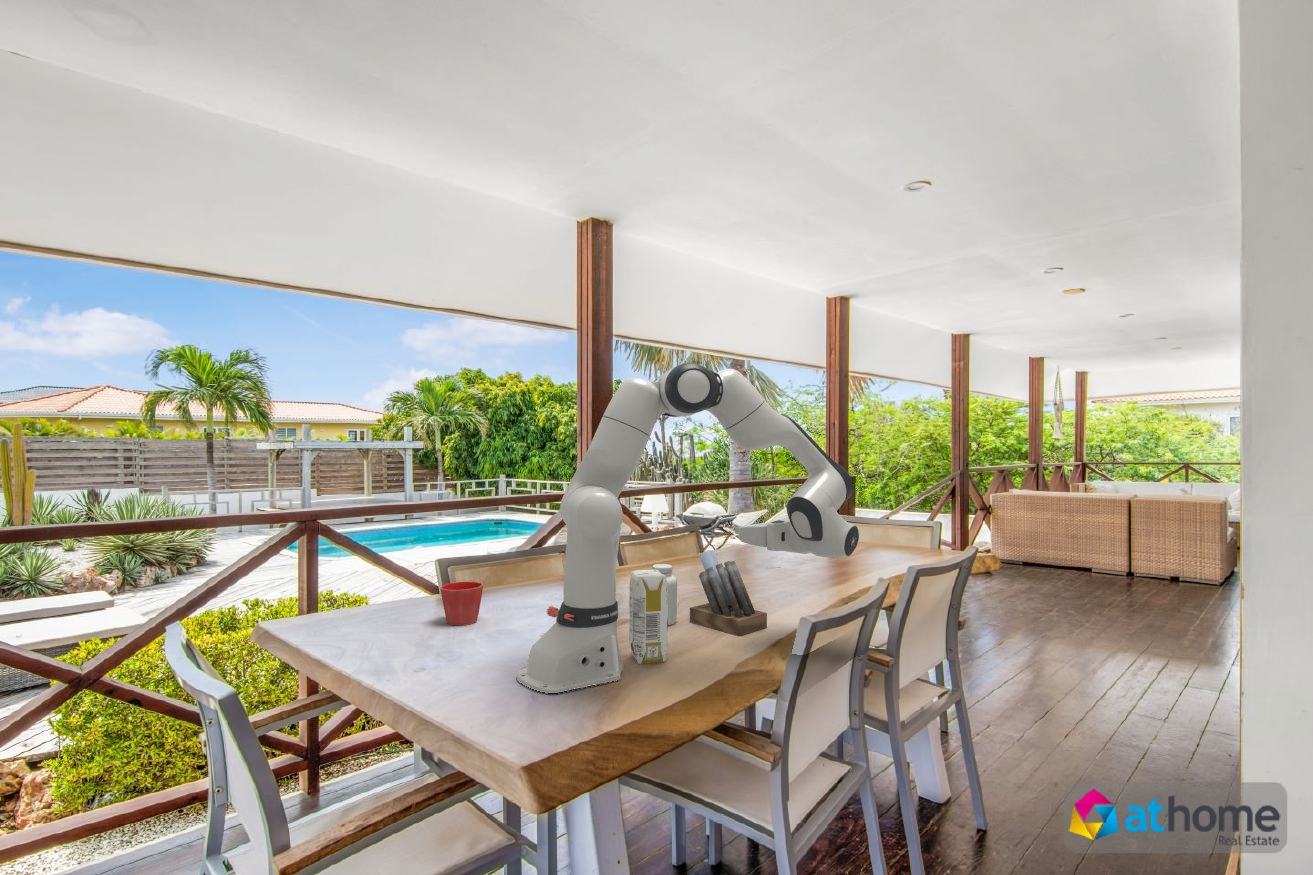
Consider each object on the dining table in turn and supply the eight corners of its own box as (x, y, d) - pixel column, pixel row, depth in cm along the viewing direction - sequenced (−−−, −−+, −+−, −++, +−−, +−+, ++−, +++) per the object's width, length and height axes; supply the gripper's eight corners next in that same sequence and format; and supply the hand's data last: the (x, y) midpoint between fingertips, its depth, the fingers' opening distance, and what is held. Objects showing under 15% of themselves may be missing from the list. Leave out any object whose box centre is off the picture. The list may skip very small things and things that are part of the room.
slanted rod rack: (766, 630, 173) (767, 562, 172) (739, 638, 165) (739, 568, 165) (717, 617, 185) (717, 553, 185) (689, 624, 178) (690, 558, 178)
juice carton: (636, 665, 143) (636, 577, 143) (627, 653, 152) (627, 569, 152) (670, 662, 145) (670, 575, 145) (659, 650, 154) (659, 568, 154)
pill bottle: (677, 626, 173) (677, 568, 173) (646, 626, 174) (646, 568, 174) (676, 618, 181) (676, 562, 181) (647, 617, 182) (647, 562, 182)
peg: (727, 604, 172) (705, 551, 178) (717, 610, 175) (696, 557, 180) (737, 602, 175) (715, 549, 181) (727, 607, 178) (706, 555, 183)
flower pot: (437, 619, 180) (438, 583, 180) (479, 614, 185) (479, 579, 185) (443, 629, 170) (443, 591, 170) (486, 624, 175) (486, 587, 175)
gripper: (818, 516, 167) (773, 512, 177) (768, 524, 153) (722, 518, 163) (818, 542, 167) (773, 536, 177) (768, 551, 153) (722, 544, 163)
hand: (748, 527), depth 170 cm, fingers open, 8 cm apart
